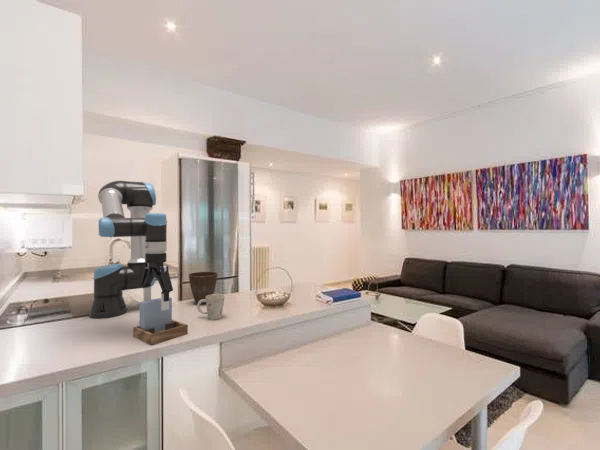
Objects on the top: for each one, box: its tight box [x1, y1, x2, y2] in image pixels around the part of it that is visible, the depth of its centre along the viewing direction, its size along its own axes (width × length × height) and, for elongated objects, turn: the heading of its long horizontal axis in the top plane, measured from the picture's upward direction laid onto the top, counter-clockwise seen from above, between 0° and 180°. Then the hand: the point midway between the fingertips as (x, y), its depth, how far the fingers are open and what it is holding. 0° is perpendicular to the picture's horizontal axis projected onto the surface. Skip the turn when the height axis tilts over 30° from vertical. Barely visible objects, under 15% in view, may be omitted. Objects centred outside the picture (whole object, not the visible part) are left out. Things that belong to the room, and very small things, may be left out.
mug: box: [196, 293, 225, 321], centre depth 137 cm, size 8×13×10 cm, turn 89°
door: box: [139, 296, 173, 332], centre depth 117 cm, size 4×11×12 cm, turn 143°
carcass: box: [132, 319, 189, 346], centre depth 115 cm, size 14×14×4 cm
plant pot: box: [188, 271, 218, 306], centre depth 163 cm, size 15×15×16 cm
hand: (155, 306), depth 117 cm, fingers open, 13 cm apart
